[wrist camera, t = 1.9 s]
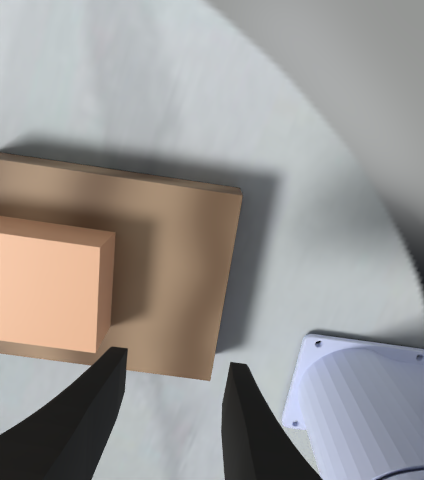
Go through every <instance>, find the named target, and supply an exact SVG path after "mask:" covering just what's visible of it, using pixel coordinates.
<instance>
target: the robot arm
mask: <svg viewBox="0 0 424 480" xmlns="http://www.w3.org/2000/svg"><path fill="white" fill-rule="evenodd" d="M317 341H321V342H320V343H319V344H315V343H316V342H317ZM127 354H128V348H121V347H113V346H112V347H110V348H109V349H108V350H107V351H106V352H105V353H104V354H103V355H102V356H101V357H100V358H99V359H98V360H97V361H96V362H95V363H94V364H93V365H92V366H91V367H90V368H89V369H88V370H86V371H85V372H84V373H83V374H82V375H81V376H80V377H79V378H78V379H76V380H75V381H74V382H73V383H72V384H71V385H70V386H68V387H67V388H66V389H65V390H64V391H62V392H61V393H60V394H59V395H57V396H56V397H55V398H54V399H52V400H51V401H50V402H49V403H47V404H46V405H45V406H43V407H42V408H40V409H39V410H38V411H36V412H35V413H33V414H32V415H31V416H29V417H28V418H26V419H25V420H23V421H22V422H20V423H19V424H17V425H15V426H14V427H12V428H11V429H9V430H7V431H6V432H4V433H2V434H1V435H0V480H91V479H92V477H93V474H94V472H95V470H96V467H97V465H98V462H99V460H100V458H101V455H102V453H103V450H104V448H105V446H106V443H107V441H108V438H109V436H110V434H111V431H112V429H113V426H114V424H115V421H116V419H117V416H118V412H119V409H120V406H121V402H122V399H123V396H124V392H125V380H126V367H127ZM418 355H420V356H419V357H417V356H418ZM294 421H297V422H294ZM282 424H283V426H285V427H287V428H294V429H302V430H307V433H308V436H309V439H310V443H311V446H312V449H313V453H314V456H315V460H316V463H317V466H318V470H319V473H320V476H321V477H320V476H319V475H318V474H317V472H316V471H315V470H314V469H313V468H312V467H311V466H310V465H309V463H308V462H307V461H306V460H305V459H304V457H303V456H302V455H301V454H300V452H299V451H298V450H297V448H296V447H295V446H294V444H293V443H292V442H291V440H290V439H289V437H288V436H287V435H286V433H285V432H284V430H283V429H282V427H281V426H280V424H279V423H278V421H277V419H276V418H275V416H274V415H273V413H272V411H271V410H270V408H269V406H268V404H267V403H266V401H265V399H264V397H263V396H262V394H261V392H260V390H259V388H258V386H257V384H256V382H255V380H254V378H253V376H252V374H251V372H250V369H249V367H248V366H247V364H241V363H234V362H230V367H229V372H228V377H227V383H226V388H225V393H224V398H223V403H222V429H221V433H222V447H223V461H224V473H225V480H424V349H420V348H412V347H405V346H398V345H390V344H383V343H376V342H368V341H361V340H354V339H346V338H339V337H332V336H324V335H317V334H308V335H306V336H305V337H304V338H303V341H302V345H301V349H300V352H299V356H298V360H297V363H296V367H295V371H294V374H293V378H292V382H291V386H290V389H289V393H288V397H287V400H286V404H285V408H284V411H283V415H282Z"/></svg>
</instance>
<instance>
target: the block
mask: <svg viewBox="0 0 424 480" xmlns="http://www.w3.org/2000/svg"><path fill="white" fill-rule="evenodd" d="M115 235H116V232H110V231H103V230H96V229H89V228H82V227H75V226H68V225H61V224H54V223H47V222H40V221H33V220H26V219H19V218H12V217H5V216H0V341H7V342H15V343H22V344H30V345H37V346H45V347H52V348H60V349H68V350H75V351H83V352H90V353H96V352H97V350H98V348H99V346H100V345H101V343H102V341H103V339H104V337H105V335H106V334H107V332H108V330H109V328H110V324H111V306H112V288H113V270H114V253H115Z"/></svg>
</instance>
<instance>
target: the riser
mask: <svg viewBox="0 0 424 480" xmlns="http://www.w3.org/2000/svg"><path fill="white" fill-rule="evenodd" d="M242 197H243V195H242V192H241V190H240V188H237V187H230V186H223V185H217V184H210V183H203V182H196V181H190V180H183V179H176V178H169V177H163V176H156V175H149V174H142V173H136V172H129V171H122V170H116V169H109V168H102V167H95V166H89V165H82V164H75V163H68V162H62V161H55V160H48V159H41V158H35V157H28V156H21V155H15V154H8V153H1V152H0V216H5V217H12V218H19V219H26V220H33V221H40V222H47V223H54V224H61V225H68V226H75V227H82V228H89V229H96V230H103V231H110V232H116V235H115V253H114V270H113V288H112V306H111V324H110V328H109V330H108V332H107V334H106V335H105V337H104V339H103V341H102V343H101V345H100V346H99V348H98V350H97V352H96V353H90V352H83V351H75V350H68V349H60V348H52V347H45V346H37V345H30V344H22V343H15V342H7V341H0V353H1V354H8V355H16V356H23V357H31V358H39V359H46V360H54V361H62V362H69V363H77V364H85V365H93V364H94V363H95V362H96V361H97V360H98V359H99V358H100V357H101V356H102V355H103V354H104V353H105V352H106V351H107V350H108V349H109V348H110V347H112V346H113V347H121V348H128V354H127V367H126V370H130V371H138V372H146V373H153V374H161V375H169V376H176V377H184V378H192V379H199V380H207V381H210V379H211V373H212V368H213V362H214V356H215V351H216V345H217V339H218V334H219V328H220V322H221V317H222V311H223V305H224V300H225V294H226V288H227V283H228V277H229V271H230V266H231V260H232V254H233V248H234V243H235V237H236V231H237V226H238V220H239V214H240V209H241V203H242Z"/></svg>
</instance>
